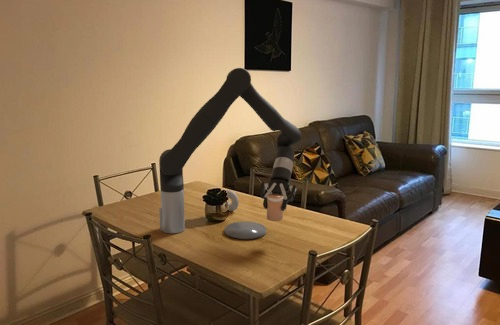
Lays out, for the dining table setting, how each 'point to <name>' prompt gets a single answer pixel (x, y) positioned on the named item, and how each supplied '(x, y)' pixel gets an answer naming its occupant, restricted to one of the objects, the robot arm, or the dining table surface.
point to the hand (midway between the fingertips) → (274, 208)
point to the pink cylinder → (274, 207)
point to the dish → (245, 230)
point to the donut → (234, 200)
